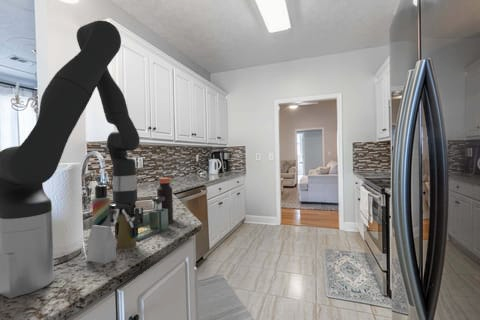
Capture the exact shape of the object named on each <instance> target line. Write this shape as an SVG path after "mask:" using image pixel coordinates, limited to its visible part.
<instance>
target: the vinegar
mask: <svg viewBox="0 0 480 320" xmlns="http://www.w3.org/2000/svg"><path fill="white" fill-rule="evenodd" d="M158 184H159V186H158V187H157V189H156V190H157V191H156V193H157V196H156V197H164V201H161V202H162V208H163V209H168V223H169V221H170V222H172V221H173V220H174V211H173V210H174V209H173V208H174V206H173V205H174V204H173V203H174V201H173V188H172V186H171V185H170V184H171V178H170V177H159V178H158Z"/></svg>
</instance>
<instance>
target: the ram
mask: <svg viewBox="0 0 480 320" xmlns="http://www.w3.org/2000/svg"><path fill="white" fill-rule="evenodd" d="M151 200H152V202H153V203H155V204H154V205H155V208H154V209H156V211H162V202H161V201H164V197H157V196H154V197H151Z"/></svg>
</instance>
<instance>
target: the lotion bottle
mask: <svg viewBox="0 0 480 320" xmlns="http://www.w3.org/2000/svg"><path fill="white" fill-rule="evenodd" d="M94 193H95V194H94V195H95V196H94V198H92V200H91V201H92V203H91V204H92V225H98V226H106V227H111V228H112V222H110V216H109V206H110V205H111V197H110V196H108V186H107V185H106V184H105V185H104V184H96V185H95V187H94Z"/></svg>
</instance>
